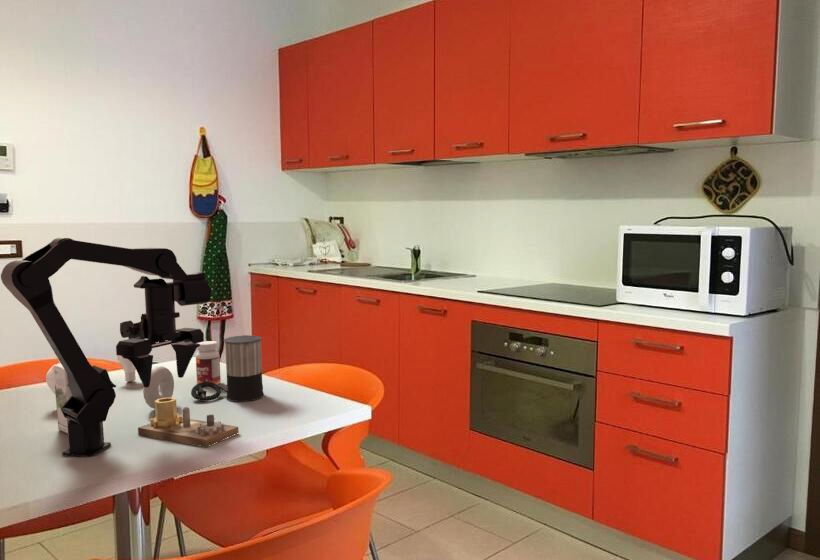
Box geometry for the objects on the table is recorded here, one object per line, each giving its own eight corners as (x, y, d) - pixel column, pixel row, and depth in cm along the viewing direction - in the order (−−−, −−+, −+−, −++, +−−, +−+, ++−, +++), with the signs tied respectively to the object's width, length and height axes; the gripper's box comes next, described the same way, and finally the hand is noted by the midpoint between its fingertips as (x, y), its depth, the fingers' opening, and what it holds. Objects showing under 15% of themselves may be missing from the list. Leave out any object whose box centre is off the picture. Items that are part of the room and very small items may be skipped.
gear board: (238, 433, 141) (237, 406, 140) (207, 447, 133) (205, 418, 133) (171, 422, 150) (170, 397, 149) (138, 434, 142) (136, 407, 141)
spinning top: (48, 404, 166) (44, 356, 165) (82, 400, 169) (79, 352, 168) (47, 412, 159) (44, 362, 158) (84, 408, 163) (80, 358, 161)
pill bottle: (192, 386, 182) (190, 344, 181) (206, 380, 188) (204, 340, 186) (211, 387, 180) (209, 345, 179) (225, 382, 185) (223, 341, 184)
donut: (154, 414, 156) (152, 371, 155) (141, 414, 157) (138, 371, 156) (178, 402, 166) (175, 362, 165) (165, 402, 166) (162, 361, 165)
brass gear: (173, 427, 141) (172, 404, 140) (145, 427, 141) (144, 403, 141) (187, 419, 147) (185, 396, 146) (160, 419, 147) (158, 396, 147)
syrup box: (96, 429, 146) (92, 362, 145) (68, 436, 142) (63, 367, 140) (84, 424, 150) (80, 359, 148) (56, 431, 145) (51, 364, 144)
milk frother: (271, 397, 169) (269, 338, 168) (212, 410, 159) (209, 347, 157) (242, 387, 180) (240, 331, 178) (185, 399, 169) (182, 340, 168)
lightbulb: (119, 380, 190) (116, 341, 189) (143, 378, 192) (141, 339, 190) (116, 385, 184) (114, 345, 183) (142, 383, 186) (139, 343, 184)
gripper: (166, 301, 154) (170, 369, 155) (95, 312, 137) (99, 388, 139) (204, 303, 149) (207, 374, 150) (134, 315, 132) (138, 394, 133)
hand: (164, 382), depth 143 cm, fingers open, 9 cm apart
